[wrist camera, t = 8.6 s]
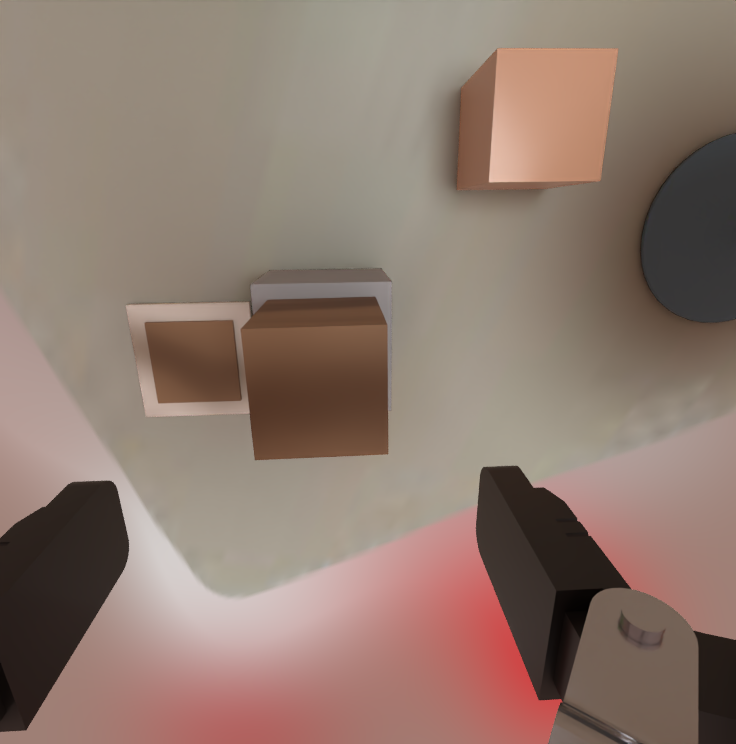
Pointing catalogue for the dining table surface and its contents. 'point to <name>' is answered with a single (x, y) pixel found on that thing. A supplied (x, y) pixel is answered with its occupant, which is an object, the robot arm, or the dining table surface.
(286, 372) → the walnut block
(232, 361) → the tile
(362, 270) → the grey block
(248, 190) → the dining table surface
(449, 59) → the dining table surface
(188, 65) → the dining table surface
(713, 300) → the cocktail glass
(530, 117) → the terracotta block
